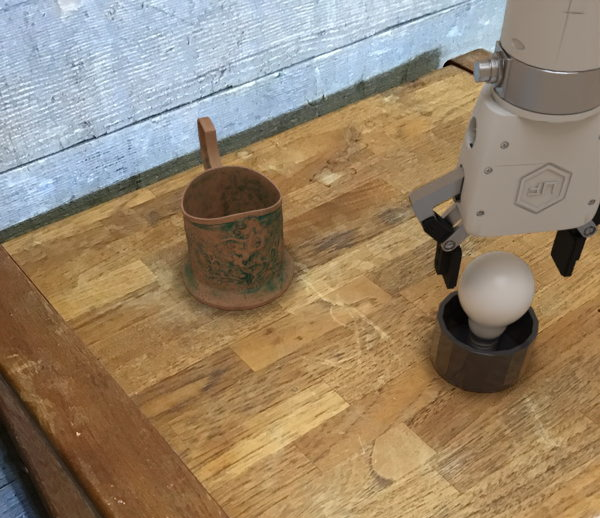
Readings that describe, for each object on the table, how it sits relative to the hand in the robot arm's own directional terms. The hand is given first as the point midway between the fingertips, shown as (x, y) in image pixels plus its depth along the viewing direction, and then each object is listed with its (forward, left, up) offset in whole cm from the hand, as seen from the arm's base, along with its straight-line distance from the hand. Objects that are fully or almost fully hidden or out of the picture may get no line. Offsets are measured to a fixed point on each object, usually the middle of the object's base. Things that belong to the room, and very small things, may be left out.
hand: (503, 272), depth 61 cm
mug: (+22, -18, -10) cm, 30 cm away
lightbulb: (0, 0, -10) cm, 10 cm away
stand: (0, 0, -10) cm, 10 cm away
